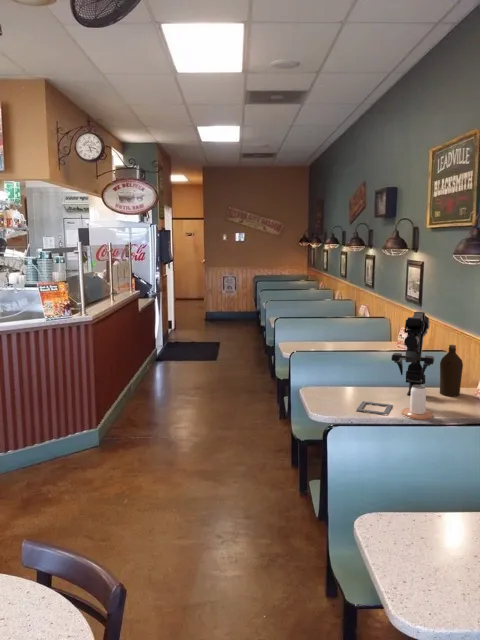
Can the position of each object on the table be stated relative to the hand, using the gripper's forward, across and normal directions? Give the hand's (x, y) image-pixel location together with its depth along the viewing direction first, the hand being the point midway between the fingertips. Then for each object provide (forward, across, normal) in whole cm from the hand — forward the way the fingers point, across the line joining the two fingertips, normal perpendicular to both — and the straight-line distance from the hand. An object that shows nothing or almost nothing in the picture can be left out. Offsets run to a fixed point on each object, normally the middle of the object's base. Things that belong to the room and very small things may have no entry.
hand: (411, 376), depth 257 cm
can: (+12, +5, -17) cm, 22 cm away
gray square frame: (+13, -14, -16) cm, 25 cm away
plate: (+13, +5, -17) cm, 22 cm away
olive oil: (+13, +16, +22) cm, 30 cm away
